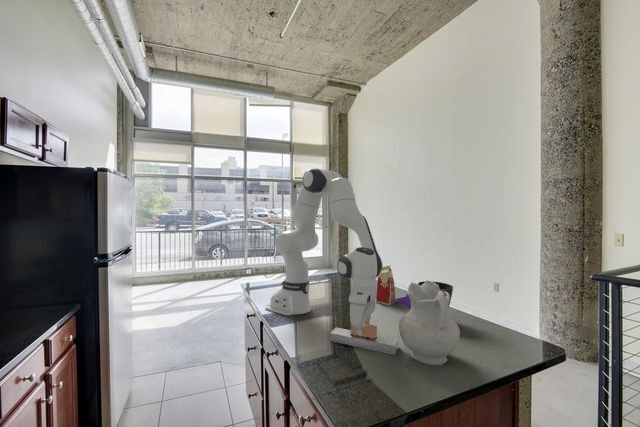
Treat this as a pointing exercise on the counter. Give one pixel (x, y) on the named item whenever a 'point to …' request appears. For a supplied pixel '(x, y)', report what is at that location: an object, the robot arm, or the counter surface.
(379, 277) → the red paper bag
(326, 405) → the counter surface
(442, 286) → the plant pot
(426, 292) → the ceramic pitcher
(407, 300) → the purple cone
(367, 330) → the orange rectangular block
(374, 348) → the rail
